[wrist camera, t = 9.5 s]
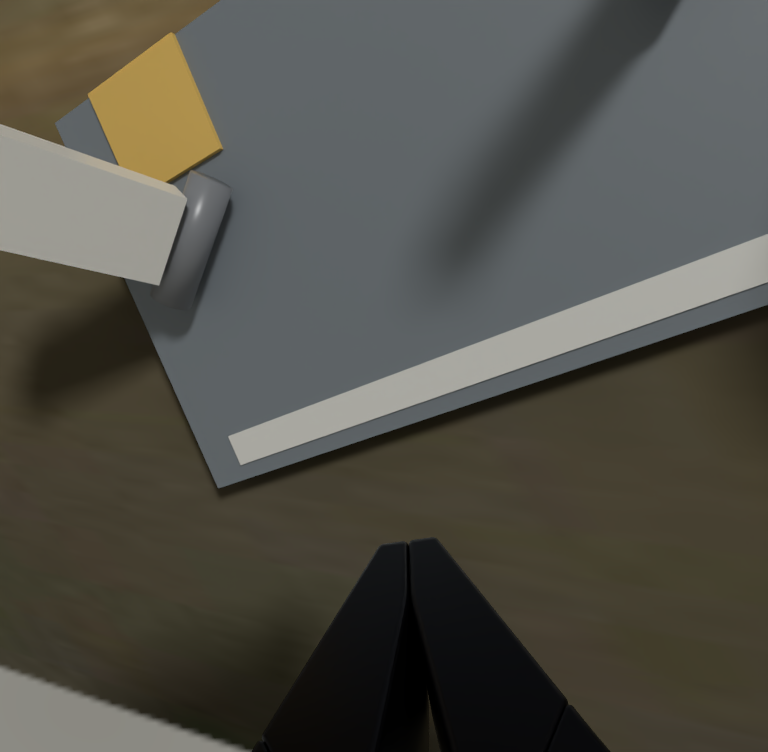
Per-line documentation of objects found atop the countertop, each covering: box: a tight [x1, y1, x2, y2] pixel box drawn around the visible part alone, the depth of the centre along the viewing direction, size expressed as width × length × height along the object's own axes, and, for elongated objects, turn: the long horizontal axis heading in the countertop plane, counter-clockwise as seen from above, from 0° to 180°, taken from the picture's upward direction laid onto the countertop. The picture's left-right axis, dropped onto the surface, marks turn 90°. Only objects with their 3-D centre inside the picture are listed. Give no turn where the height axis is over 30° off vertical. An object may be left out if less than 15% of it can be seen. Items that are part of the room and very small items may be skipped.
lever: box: [0, 124, 233, 310], centre depth 16 cm, size 2×4×9 cm
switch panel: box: [55, 0, 768, 488], centre depth 17 cm, size 15×25×1 cm, turn 113°
